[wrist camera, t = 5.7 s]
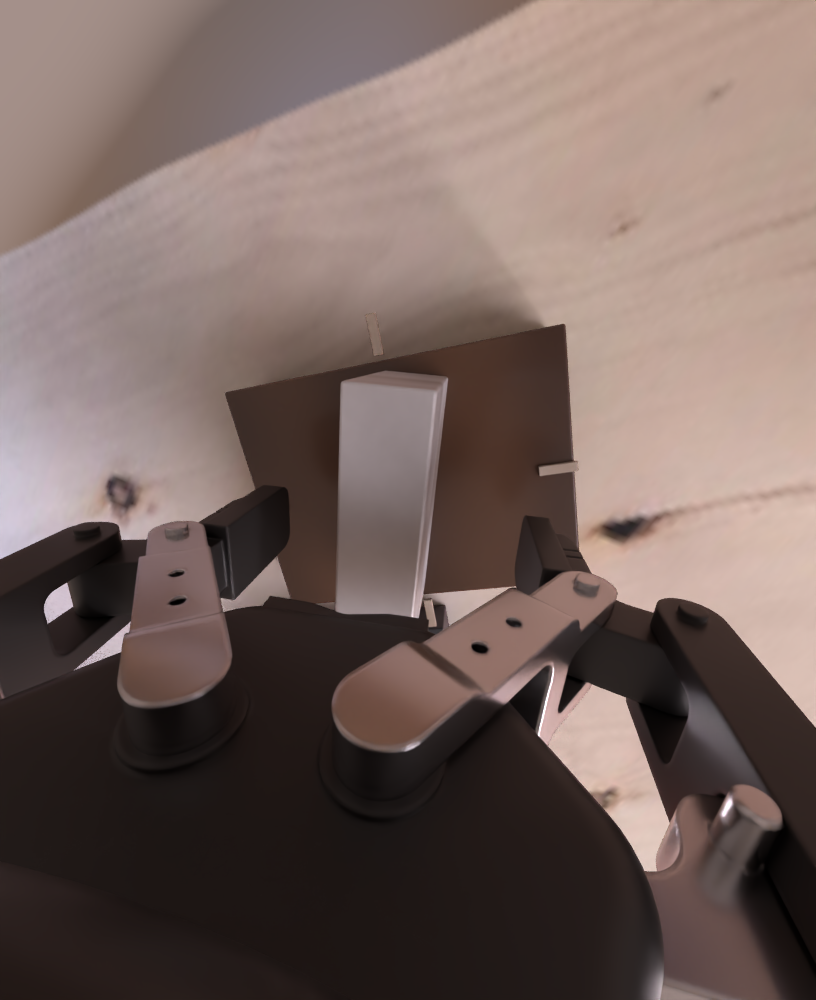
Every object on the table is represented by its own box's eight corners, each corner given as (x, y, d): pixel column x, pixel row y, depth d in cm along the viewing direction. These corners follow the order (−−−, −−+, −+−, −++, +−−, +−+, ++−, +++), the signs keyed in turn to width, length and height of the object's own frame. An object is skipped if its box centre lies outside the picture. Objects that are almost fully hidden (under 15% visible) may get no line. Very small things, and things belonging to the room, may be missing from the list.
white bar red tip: (383, 370, 15) (336, 381, 10) (448, 376, 15) (436, 391, 9) (371, 580, 18) (330, 676, 13) (424, 588, 18) (405, 689, 13)
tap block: (549, 284, 16) (567, 269, 13) (569, 577, 20) (586, 616, 17) (247, 351, 19) (205, 351, 16) (320, 599, 23) (298, 636, 20)
